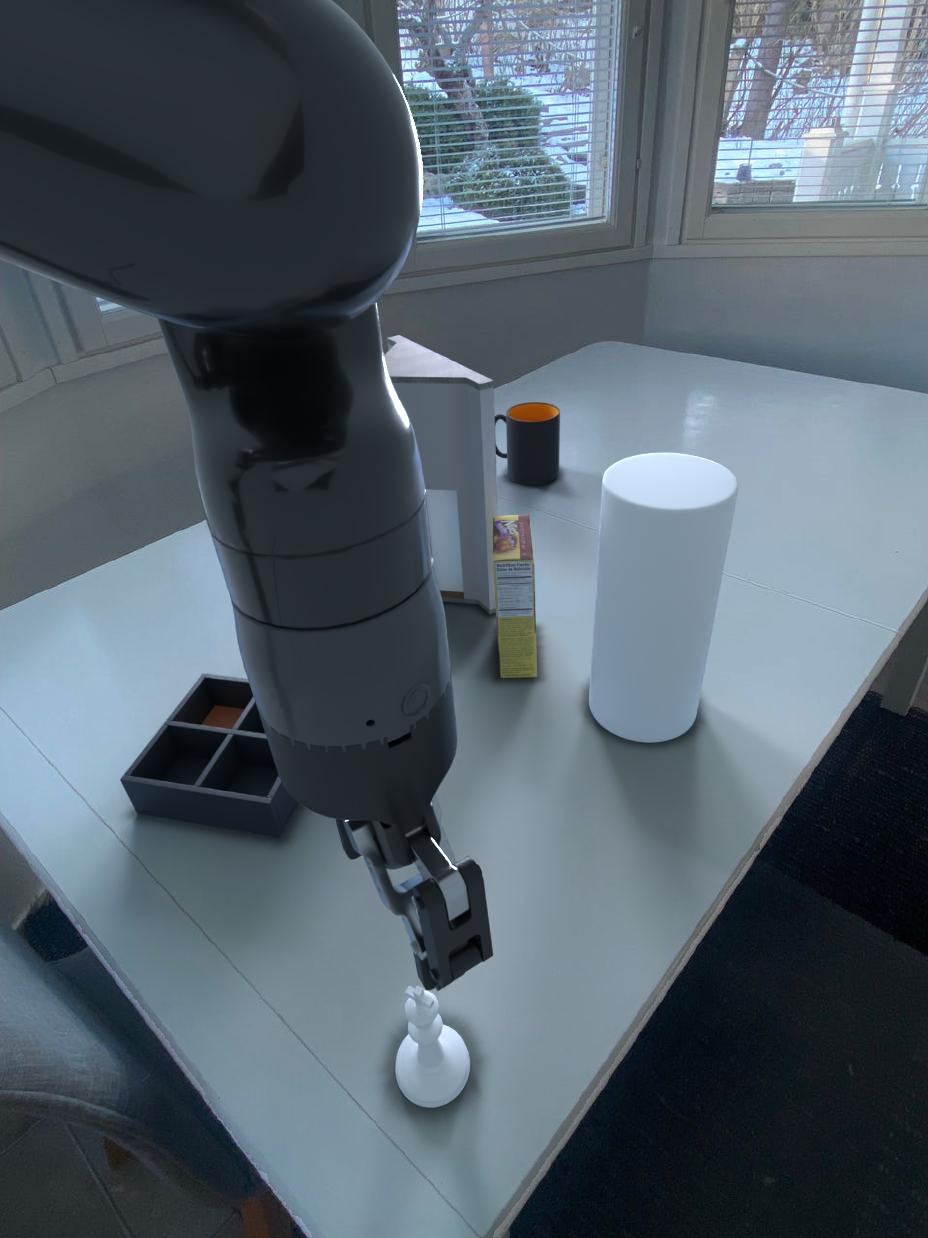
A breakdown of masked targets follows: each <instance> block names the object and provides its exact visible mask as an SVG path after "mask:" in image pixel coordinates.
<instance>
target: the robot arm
mask: <svg viewBox="0 0 928 1238" xmlns="http://www.w3.org/2000/svg"><path fill="white" fill-rule="evenodd" d="M420 148H421V147H420V142H419V139H418V133H417V129H416V126H415V122H414V119H413V116H412V113H411V110H410V107H409V104H408V102H407V100H406V97H405V95H404V93H403V90H402V87H401V86H400V84H399V82H398V80H397V78H396V76H395V74H394V73H393V70H392V68H391V67H390V65H389V64H388V62H387V61H386V59H385V57H384V55H383V54H382V52H381V51H380V50H379V49H378V47H377V46H376V44H375V43H374V42H373V40H372V39H371V37H370V36H368V34H367V33H366V32H365V31H364V30H363V28H361V27H360V25H359V24H358V23H357V22H356V21H355V20H354V18H352V17H351V16H350V15H349V14H348V13H347V12H346V11H345V10H344V9H343V8H342V7H340V6H339V5H338V4H337V3H336V2H334V1H333V0H0V261H3V262H6V263H8V264H12V265H13V266H15V267H18V268H20V269H23V270H26V271H28V272H31V273H33V274H36V275H38V276H42V277H44V278H45V279H46V278H47V279H49V280H52V281H54V282H56V283H59V284H62V285H64V286H67V287H69V288H72V289H75V290H78V291H79V292H83V293H85V294H88V295H90V296H93V297H96V298H98V299H101V300H104V301H106V302H109V303H112V304H116V305H118V306H121V307H124V308H126V309H129V310H132V311H134V312H138V313H140V314H144V315H147V316H151V317H153V318H156V320H157V323H158V326H159V329H160V331H161V332H160V333H161V335H162V338H163V341H164V344H165V347H166V350H167V354H168V356H169V359H170V362H171V365H172V368H173V371H174V375H175V377H176V379H177V383H178V385H179V389H180V391H181V394H182V397H183V400H184V404H185V408H186V412H187V416H188V422H189V427H190V435H191V445H192V454H193V455H192V456H193V462H194V469H195V476H196V481H197V487H198V492H199V498H200V501H201V505H202V509H203V513H204V516H205V520H206V523H207V527H208V530H209V533H210V538H211V539H212V543H213V546H214V550H215V552H216V556H217V559H218V562H219V567H220V568H221V572H222V575H223V579H224V581H225V585H226V588H227V591H228V594H229V597H230V601H231V606H232V611H233V617H234V626H235V634H236V639H237V645H238V650H239V654H240V657H241V661H242V665H243V668H244V671H245V674H246V676H247V678H246V679H248V681H249V684H250V687H251V690H252V693H253V696H254V699H255V702H256V706H257V709H258V712H259V715H260V718H261V721H262V724H263V727H264V731H265V734H266V737H267V740H268V743H269V746H270V749H271V752H272V756H273V759H274V762H275V765H276V768H277V771H278V774H279V777H280V780H281V782H282V784H283V786H284V787H285V789H286V790H287V792H288V793H289V794H290V795H291V796H292V797H293V798H294V799H295V800H296V801H297V802H298V803H299V804H298V805H301V806H302V807H304V808H305V809H306V810H309V811H310V812H313V813H314V814H317V815H320V816H323V817H326V818H331V819H334V822H335V825H336V828H337V832H338V835H339V839H340V843H341V847H342V850H343V851H344V853H345V855H346V857H347V858H348V859H349V860H351V861H353V860H356V859H358V858H361V857H363V860H364V863H365V864H366V867H367V869H368V871H369V874H370V877H371V879H372V882H373V883H374V886H375V888H376V891H377V893H378V896H379V898H380V901H381V903H382V905H383V906H384V907H385V908H386V909H388V911H390V912H391V913H392V914H393V915H395V916H398V917H400V918H401V921H402V923H403V925H404V928H405V930H406V933H407V935H408V938H409V940H410V943H409V945H410V948H411V950H412V954H413V959H414V963H415V969H416V974H417V977H418V979H419V981H420V983H421V984H422V986H423V989H424V990H425V991H432V990H434V989H436V992H439V991H441V990H443V989H445V988H446V987H448V986H450V985H451V984H452V983H454V982H455V981H457V980H458V979H459V978H461V977H462V976H464V975H465V974H466V973H467V972H468V971H470V970H471V969H473V968H475V967H476V966H477V965H479V964H481V963H485V962H486V961H488V960H489V959H490V958H492V957H494V950H493V949H494V948H493V941H492V933H491V926H490V918H489V910H488V904H487V895H486V886H485V880H484V876H483V870H482V868H481V865H479V863H478V862H476V860H475V859H474V858H473V857H472V856H471V855H466V856H464V857H463V858H461V859H459V860H457V859H456V857H455V854H454V851H453V849H452V847H451V845H450V842H449V839H448V837H447V834H446V832H445V830H444V827H443V825H442V822H441V820H442V819H441V818H442V815H443V812H442V807H441V805H440V803H439V800H438V797H437V795H436V793H437V791H438V790H439V788H440V786H441V784H442V782H443V781H444V780H445V777H446V776H447V775H448V773H449V771H450V769H451V767H452V764H453V762H454V760H455V756H456V753H457V746H458V729H457V721H456V720H457V719H456V709H455V700H454V699H455V698H454V689H453V687H454V686H453V678H452V668H451V659H450V649H449V648H450V647H449V639H448V627H447V619H446V618H447V617H446V611H445V610H446V609H445V605H444V602H443V601H442V596H441V593H440V589H439V586H438V582H437V578H436V574H435V570H434V564H433V558H432V547H431V538H430V528H429V518H428V509H427V499H426V490H425V483H424V476H423V469H422V462H421V456H420V452H419V447H418V443H417V439H416V435H415V432H414V429H413V426H412V423H411V421H410V418H409V416H408V414H407V412H406V410H405V408H404V406H403V404H402V402H401V400H400V398H399V396H398V394H397V392H396V390H395V388H394V386H393V383H392V381H391V378H390V376H389V373H388V370H387V366H386V361H385V357H384V355H385V352H384V346H383V336H382V330H381V329H382V328H381V322H380V317H379V310H378V304H377V302H378V301H379V300H380V298H381V297H382V296H383V295H384V294H385V293H386V291H387V290H389V288H390V287H391V285H392V284H393V283H394V281H395V280H396V278H397V277H398V275H399V274H400V272H401V271H402V268H403V267H404V265H405V263H406V261H407V259H408V257H409V254H410V252H411V250H412V247H413V244H414V241H415V239H416V235H417V233H418V227H419V223H420V217H421V211H422V203H423V191H424V190H423V185H424V179H423V177H424V176H423V175H424V174H423V161H422V154H421V149H420ZM413 864H414V865H415V866H416V868H417V870H418V872H419V873H417V874H415V875H414V876H412V877H410V878H409V879H407V880H405V881H404V882H402V883H399V884H398V885H394V884H393V882H392V879H391V876H390V874H389V872H388V870H391V871H395V870H398V869H403V868H405V867H408V866H411V865H413Z"/></svg>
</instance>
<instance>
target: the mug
mask: <svg viewBox="0 0 928 1238" xmlns="http://www.w3.org/2000/svg"><path fill="white" fill-rule="evenodd" d="M500 420H502V421H503V422H504V423H505V427H506V429H505V431H506V452H505V453H504V452H502V451H500V449H499V448H498V446H497V437H496V435H495V443H496V456H497V457H499V458H501V459H506V462H507V463H506V464H507V469H506V471H507V477H508V478H509V479H510V480H511V481H512V482H514V483H516V484H520V485H523V486H524V485H525V486H538V485H539V486H540V485H544V484H548V483H551V482H553V481H555V480H556V479H557V478H558V477H559V475H560V449H561V448H560V445H561V444H560V443H561V441H560V440H561V410H560V408H559V407H558V406H556V405H554V404H552V403H548V402H540V401H530V402H529V401H528V402H522V403H517V404H515V405H513V406H511V407H509V408H507V410H506V412H505V414H502V413H499V414H495V426H497V422H498V421H500Z"/></svg>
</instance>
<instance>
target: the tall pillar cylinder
mask: <svg viewBox="0 0 928 1238" xmlns="http://www.w3.org/2000/svg"><path fill="white" fill-rule="evenodd" d="M738 493H739V482H738V479H737V478H736V475H734V473H733V472H732V471H731V470H729V469H728V468H727V467H725V466H724V465H722V464H720V463H718V462H715V461H713V460H710V459H707V458H705V457H701V456H695V455H691V454H686V453H677V452H651V453H650V452H649V453H641V454H636V455H633V456H629V457H625V458H623V459H621V460H618V461H616V462H615V463H613V464H611V465H610V466H609V467H608V468H607V469H606V470H605V471H604V473H603V475H602V481H601V496H600V497H601V499H600V515H599V529H598V530H599V531H598V544H597V545H598V548H597V563H596V577H595V578H596V579H595V592H594V593H595V595H594V612H593V629H592V641H591V642H592V644H591V659H590V660H591V661H590V676H589V694H588V706H589V709H590V712H591V715H592V716H593V718H594V719H595V721H596V722H597V723H598V724H599V725H600V726H601V727H602V728H604V729H605V730H607V731H608V732H610V733H612V734H613V735H615V736H618V737H619V738H622V739H625V740H629V741H632V742H636V743H637V742H638V743H648V744H649V743H663V742H667V741H671V740H673V739H676V738H678V737H680V736H682V735H683V734H685V733H686V732H687V731H689V729H690V728H691V727H692V726H693V724H694V723H695V721H696V718H697V715H698V709H699V705H700V700H701V699H700V698H701V693H702V688H703V682H704V676H705V673H706V672H705V671H706V666H707V660H708V655H709V651H710V645H711V639H712V633H713V629H714V624H715V623H714V622H715V617H716V611H717V607H718V601H719V597H720V590H721V586H722V579H723V575H724V568H725V563H726V557H727V552H728V546H729V542H730V538H731V537H730V536H731V530H732V526H733V525H732V524H733V521H734V520H733V519H734V516H735V515H734V514H735V509H736V504H737V498H738Z"/></svg>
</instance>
